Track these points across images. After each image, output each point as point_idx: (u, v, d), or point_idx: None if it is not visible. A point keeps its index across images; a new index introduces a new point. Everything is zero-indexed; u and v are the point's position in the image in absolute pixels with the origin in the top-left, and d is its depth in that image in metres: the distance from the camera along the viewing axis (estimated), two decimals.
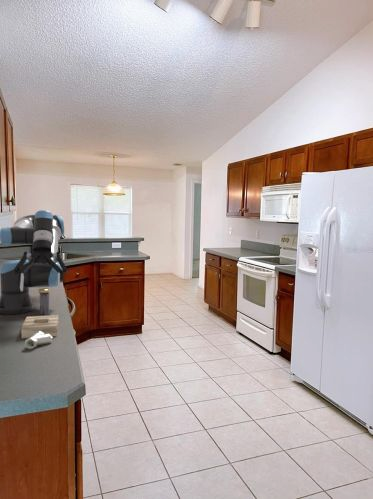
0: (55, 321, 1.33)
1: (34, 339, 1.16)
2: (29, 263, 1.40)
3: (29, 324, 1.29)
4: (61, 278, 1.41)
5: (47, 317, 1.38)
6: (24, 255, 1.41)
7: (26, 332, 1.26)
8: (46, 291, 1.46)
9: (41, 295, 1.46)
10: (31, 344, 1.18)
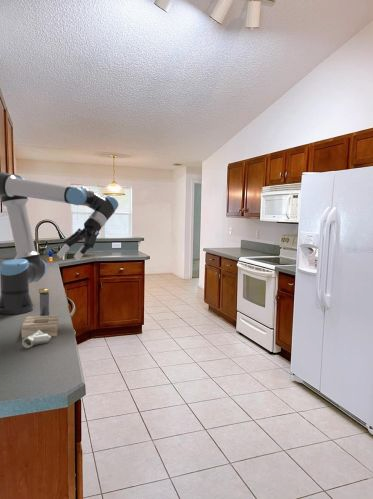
0: (55, 321, 1.33)
1: (31, 338, 1.17)
2: None
3: (29, 324, 1.29)
4: None
5: (47, 317, 1.38)
6: None
7: (26, 332, 1.26)
8: (46, 291, 1.46)
9: (41, 295, 1.46)
10: (29, 343, 1.19)
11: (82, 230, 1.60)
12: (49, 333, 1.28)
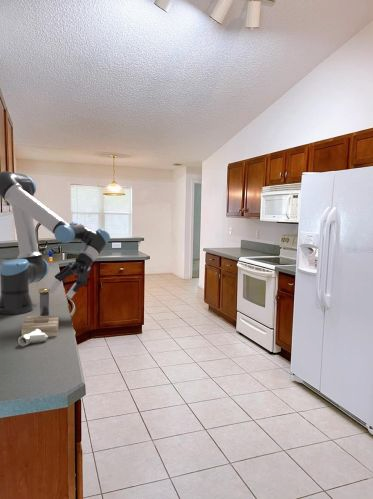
0: (55, 321, 1.33)
1: (27, 337, 1.19)
2: None
3: (29, 324, 1.29)
4: None
5: (47, 317, 1.38)
6: None
7: (26, 332, 1.26)
8: (46, 291, 1.46)
9: (41, 295, 1.46)
10: (26, 341, 1.21)
11: (74, 265, 1.58)
12: (49, 333, 1.28)
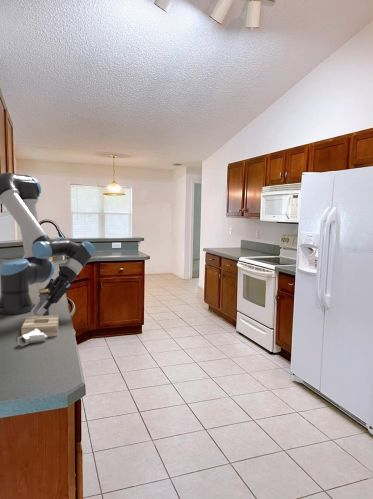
0: (55, 321, 1.33)
1: (26, 337, 1.19)
2: None
3: (29, 324, 1.29)
4: None
5: (47, 317, 1.38)
6: None
7: (26, 332, 1.26)
8: (46, 291, 1.46)
9: (41, 295, 1.46)
10: (25, 341, 1.21)
11: (56, 279, 1.53)
12: (49, 333, 1.28)
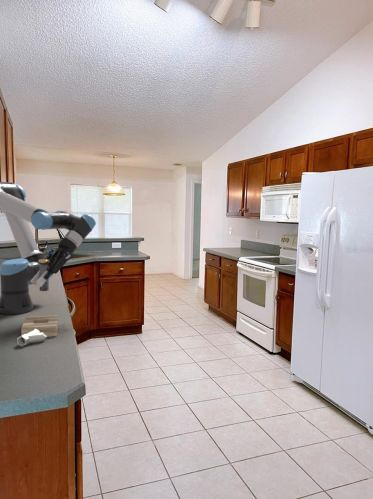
0: (55, 321, 1.33)
1: (25, 337, 1.19)
2: None
3: (29, 324, 1.29)
4: None
5: (47, 317, 1.38)
6: None
7: (26, 332, 1.26)
8: (46, 261, 1.45)
9: (41, 265, 1.45)
10: (24, 341, 1.21)
11: (56, 250, 1.52)
12: (49, 333, 1.28)
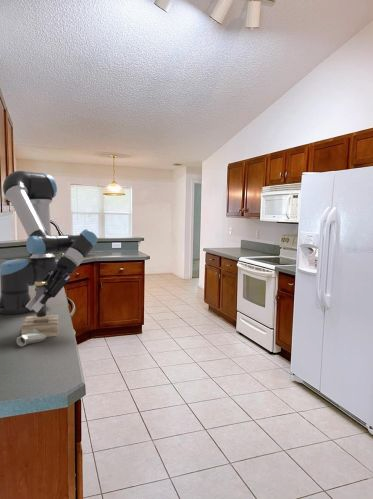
0: (55, 321, 1.33)
1: (25, 337, 1.18)
2: None
3: (29, 324, 1.29)
4: None
5: (47, 317, 1.38)
6: None
7: (26, 332, 1.26)
8: (43, 284, 1.31)
9: (37, 288, 1.31)
10: (24, 341, 1.21)
11: (54, 270, 1.38)
12: (49, 333, 1.28)
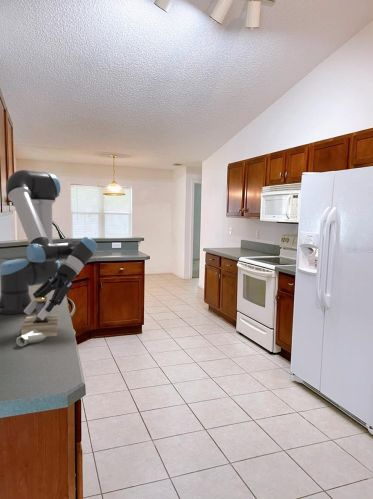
0: (55, 321, 1.33)
1: (25, 337, 1.18)
2: None
3: (29, 324, 1.29)
4: None
5: (47, 317, 1.38)
6: None
7: (26, 332, 1.26)
8: (43, 300, 1.31)
9: (37, 304, 1.31)
10: (24, 341, 1.21)
11: (54, 278, 1.38)
12: (49, 333, 1.28)
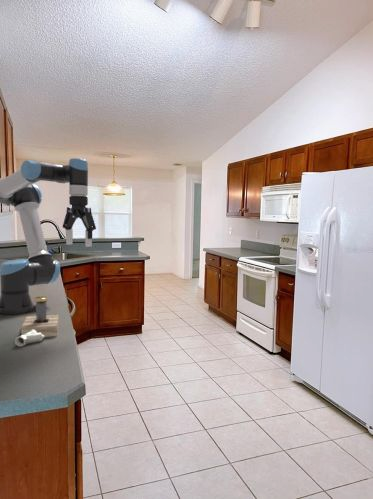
0: (55, 321, 1.33)
1: (24, 337, 1.18)
2: None
3: (29, 324, 1.29)
4: None
5: (47, 317, 1.38)
6: None
7: None
8: (43, 300, 1.31)
9: (37, 304, 1.31)
10: (22, 342, 1.21)
11: (73, 211, 1.48)
12: (49, 333, 1.28)
